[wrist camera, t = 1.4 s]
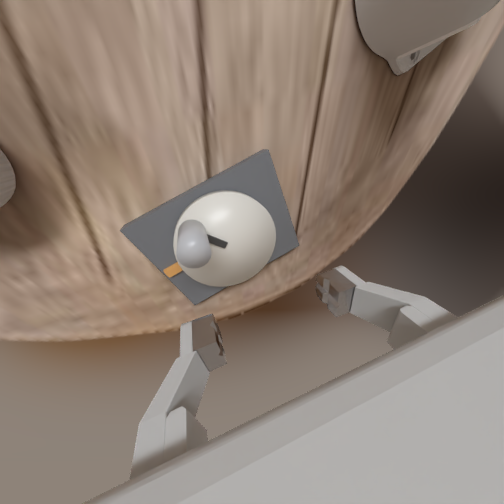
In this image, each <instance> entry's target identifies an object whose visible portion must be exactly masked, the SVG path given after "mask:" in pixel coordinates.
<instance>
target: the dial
mask: <svg viewBox="0 0 504 504" xmlns="http://www.w3.org/2000/svg"><path fill="white" fill-rule="evenodd" d="M275 242H276V229H275V225H274V222H273V219H272V217H271V215H270V214H269V212H268V211H267V210H266V209H265V207H263V206H262V205H261V204H260V203H259V202H258V201H256V200H255V199H253V198H252V197H250V196H248V195H246V194H244V193H241V192H238V191H232V190H221V191H214V192H210V193H207V194H205V195H203V196H201V197H199V198H197V199H196V200H194V201H193V202H192V203H190V204H189V205H188V206H187V207H186V208H185V210H184V211H183V212H182V214H181V215H180V217H179V219H178V221H177V224H176V227H175V232H174V241H173V247H174V254H175V257H176V260H177V262H178V264H179V266H180V267H181V268H182V270H183V271H184V272H185V273H186V274H187V275H188V276H189V277H191V278H192V279H194V280H195V281H197V282H200V283H202V284H205V285H209V286H216V287H225V286H232V285H236V284H239V283H242V282H244V281H246V280H248V279H250V278H252V277H253V276H255V275H256V274H257V273H258V272H259V271H261V270H262V268H263V267H264V266H265V265H266V264H267V262H268V261H269V259H270V257H271V256H272V253H273V251H274V247H275Z"/></svg>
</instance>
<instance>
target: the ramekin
mask: <svg viewBox="0 0 504 504" xmlns="http://www.w3.org/2000/svg"><path fill="white" fill-rule="evenodd" d="M15 188H16V180H15V174H14V171H13V168H12V166H11V164H10V162H9V160H8V159H7V157H6V155H5V154H4V153H3V152H2V150H1V149H0V207H2V206H3V205H4V204H6V203H7V202H8V200H9V199H11V197H12V195H13V194H14V190H15Z"/></svg>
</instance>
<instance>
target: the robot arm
mask: <svg viewBox="0 0 504 504" xmlns="http://www.w3.org/2000/svg"><path fill="white" fill-rule="evenodd" d="M499 1H500V0H355V5H356V13H357V19H358V23H359V27H360V30H361V33H362V35H363V38H364V40H365V41H366V43H367V45H368V46H369V47H370V49H371V50H372V51H373V52H375V53H376V54H377V55H379V56H381V57H383V58H385V59H386V60H387V61H388V63H389V65H390V67H391V69H392V71H393V72H394V74H396V75H400V74H403V73H405V72H407V71H408V70H409V69H410V68H412V67H413V66H414V65H415V64H417V63H418V62H419V61H420V60H421V59H423V58H424V57H425V56H426V55H427V54H429V53H430V52H431V51H432V50H433V49H435V48H436V47H437V46H438V45H439V44H441V43H442V42H443V41H444V40H445V39H447V38H448V37H450V36H452V35H454V34H456V33H459V32H461V31H463V30H465V29H467V28H469V27H471V26H473V25H475V24H476V23H478V21H479V20H480V18H481V16H483V15H484V14H486V13H487V12H488V11H490V10H491V9H492V8H493V7H494V6H495V5H496V4H497V3H498V2H499ZM316 281H317V282H318V283H317V285H316V293H317V296H318V297H319V299H320V300H321V301H322V302H323V303H326V304H327V306H328V309H329V310H330V311H331V312H332V313H333V315H334V316H335V317H338V316H341V315H343V314H346V313H348V312H350V313H352V314H354V315H356V316H358V317H360V318H362V319H364V320H366V321H369V322H370V323H372V324H374V325H377V326H378V327H381V328H383V329H385V330H387V331H389V332H390V334H389V337H388V340H387V342H388V344H389V345H390V346H391V347H392V348H393V349H394V350H392V351H390V352H388V353H386V354H384V355H382V356H379V357H378V358H375V359H373V360H372V361H370V362H367V363H365V364H363V365H362V366H359V367H357V368H355V369H353V370H351V371H349V372H347V373H345V374H343V375H341V376H339V377H337V378H335V379H333V380H331V381H329V382H327V383H325V384H323V385H321V386H319V387H317V388H315V389H313V390H311V391H309V392H307V393H305V394H303V395H301V396H299V397H296V398H295V399H293V400H290V401H288V402H286V403H284V404H282V405H280V406H278V407H276V408H275V409H272V410H270V411H268V412H266V413H264V414H262V415H260V416H258V417H256V418H254V419H252V420H250V421H248V422H246V423H244V424H242V425H240V426H238V427H236V428H234V429H232V430H230V431H228V432H226V433H224V434H222V435H220V436H218V437H216V438H214V439H212V440H210V441H208V438H207V430H206V429H205V428H204V427H203V426H202V425H201V424H200V423H199V422H198V421H197V420H196V419H195V416H196V413H197V410H198V407H199V404H200V401H201V398H202V395H203V392H204V389H205V386H206V383H207V380H208V377H209V374H210V373H209V372H210V371H212V370H214V369H216V368H219V367H221V366H223V365H225V364H227V362H226V357H225V352H224V349H223V346H222V337H221V333H220V330H219V327H218V325H217V323H216V322H215V317H214V315H213V314H209V315H207V316H204V317H201V318H198V319H195V320H192V321H189V322H187V323H184V324H182V325H181V328H180V357H179V358H176V360H175V362H174V364H173V365H172V367H171V369H170V371H169V372H168V374H167V376H166V378H165V379H164V381H163V383H162V385H161V386H160V388H159V390H158V392H157V393H156V395H155V397H154V399H153V400H152V402H151V404H150V406H149V408H148V409H147V411H146V413H145V415H144V416H143V418H142V420H141V422H140V423H139V427H138V433H137V439H136V445H135V451H134V457H133V463H132V469H131V475H130V480H129V481H127V482H125V483H123V484H121V485H118V486H116V487H114V488H113V489H111V490H108V491H106V492H104V493H102V494H100V495H98V496H96V497H94V498H93V499H90V500H88V501H86V502H84V503H82V504H504V295H503V296H501V297H499V298H497V299H495V300H493V301H491V302H489V303H487V304H485V305H483V306H481V307H479V308H477V309H475V310H473V311H471V312H469V313H467V314H465V315H463V316H461V317H456V316H455V315H453V314H452V313H450V312H448V311H447V310H445V309H443V308H442V307H440V306H438V305H437V304H435V303H434V302H432V301H431V300H429V299H427V298H426V297H423V296H420V295H416V294H412V293H408V292H405V291H401V290H397V289H393V288H390V287H386V286H382V285H378V284H375V283H371V282H364V281H363V280H362V279H360V278H359V277H357V276H356V275H355V274H353V273H352V272H351V271H349V270H348V269H347V268H345V267H344V266H339V267H336V268H334V269H331V270H328V271H325V272H323V273H320V274H317V276H316Z"/></svg>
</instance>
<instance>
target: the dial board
mask: <svg viewBox="0 0 504 504" xmlns="http://www.w3.org/2000/svg"><path fill="white" fill-rule="evenodd" d="M221 190H232V191H238V192H241V193H244V194H246V195H248V196H250V197H252V198H253V199H255V200H256V201H258V202H259V203H260V204H261V205H262V206H263V207H265V209H266V210H267V211H268V212H269V214H270V215H271V217H272V219H273V222H274V225H275V229H276V242H275V247H274V251H273V253H272V256H271V257H270V259H269V261H268V262H267V264H268V263H270V262H271V261H273V260H275V259H276V258H278V257H280V256H282V255H283V254H285V253H287V252H289V251H290V250H292V249H294V248H296V247H297V246H299V243H298V240H297V237H296V233H295V230H294V227H293V224H292V221H291V218H290V215H289V212H288V209H287V206H286V202H285V199H284V196H283V193H282V190H281V187H280V184H279V181H278V178H277V175H276V171H275V168H274V165H273V162H272V159H271V156H270V153H269V150H265V149H263V150H261V151H259V152H257V153H256V154H254V155H252V156H250V157H248V158H246V159H245V160H243V161H241V162H239V163H237V164H235V165H234V166H232V167H230V168H228V169H226V170H224V171H223V172H221V173H219V174H217V175H215V176H213V177H212V178H210V179H208V180H206V181H204V182H202V183H201V184H199V185H197V186H195V187H193V188H191V189H190V190H188V191H186V192H184V193H182V194H180V195H179V196H177V197H175V198H173V199H171V200H169V201H168V202H166V203H164V204H162V205H160V206H158V207H157V208H155V209H153V210H151V211H149V212H147V213H146V214H144V215H142V216H140V217H138V218H136V219H135V220H133V221H131V222H129V223H127V224H125V225H124V226H123V227H122V229H121V230H120V231H121V232H122V233H123V234H124V235H125V236H126V237H127V238H128V239H129V240H130V241H131V242H132V243H133V244H134V245H135V246H136V247H137V248H138V249H139V250H140V251H141V252H142V253H143V254H144V255H145V256H146V257H147V258H148V259H149V260H150V261H151V262H152V263H153V264H154V265H155V266H156V267H157V268H158V269H159V270H160V271H161V272H162V273H163V274H164V275H165V276H166V277H167V278H168V279H169V280H170V281H171V282H172V283H173V284H174V285H175V286H176V287H177V288H178V289H179V290H180V291H181V292H182V293H183V294H184V295H185V296H186V297H187V298H188V299H189V300H190V301H191V302H192V303H193V304H194V305H196V304H198V303H200V302H201V301H203V300H205V299H207V298H208V297H210V296H212V295H214V294H215V293H217V292H219V291H221V290H222V289H224V288H226V287H228V286H225V287H216V286H209V285H205V284H202V283H200V282H197V281H195V280H194V279H192V278H191V277H189V276H188V275H187V274H186V273H185V272H184V271H183V270H182V268H181V267H180V266H179V264H178V262H177V260H176V257H175V254H174V247H173V241H174V232H175V227H176V224H177V221H178V219H179V217H180V215H181V214H182V212H183V211H184V210H185V208H186V207H187V206H188V205H189V204H190V203H192V202H193V201H194V200H196V199H197V198H199V197H201V196H203V195H205V194H207V193H210V192H214V191H221Z"/></svg>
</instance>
